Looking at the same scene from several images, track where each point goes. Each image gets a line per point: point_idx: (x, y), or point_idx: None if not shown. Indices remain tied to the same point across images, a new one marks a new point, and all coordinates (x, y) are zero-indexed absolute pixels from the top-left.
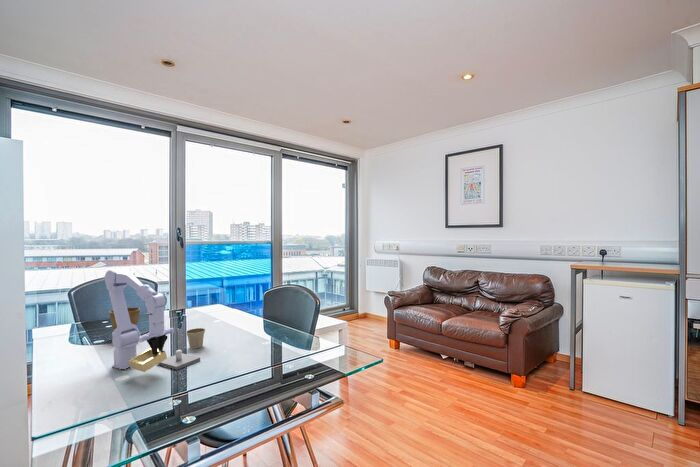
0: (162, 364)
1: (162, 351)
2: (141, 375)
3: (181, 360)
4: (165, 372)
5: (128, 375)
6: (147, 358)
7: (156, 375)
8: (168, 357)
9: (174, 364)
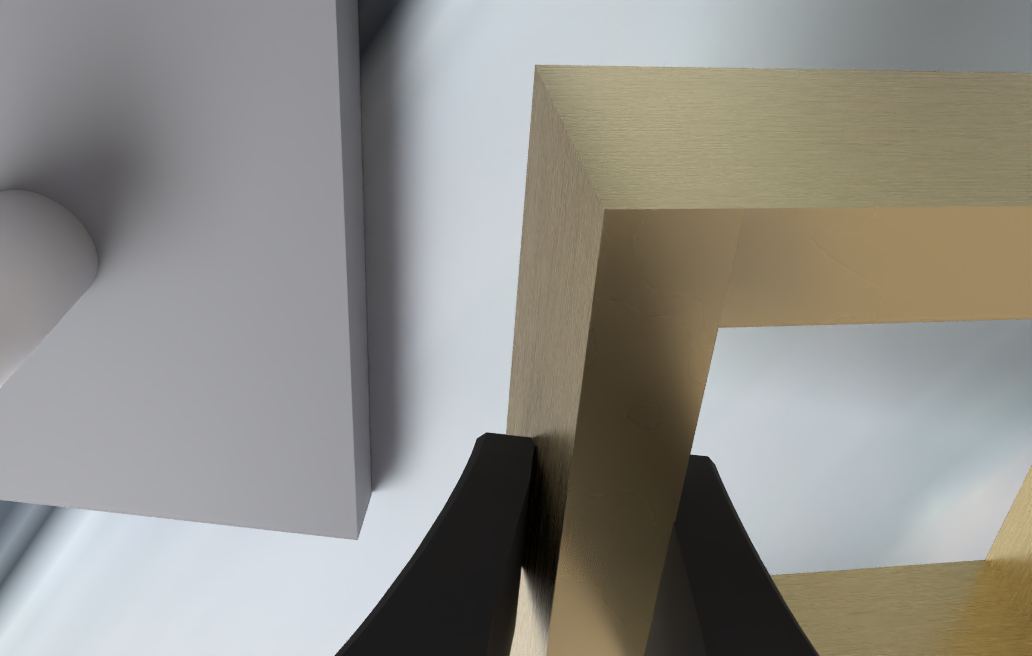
0: (360, 379)
1: (658, 308)
2: (857, 348)
3: (21, 134)
4: (569, 7)
5: (908, 535)
6: None
7: (778, 55)
8: (125, 507)
9: (264, 70)
